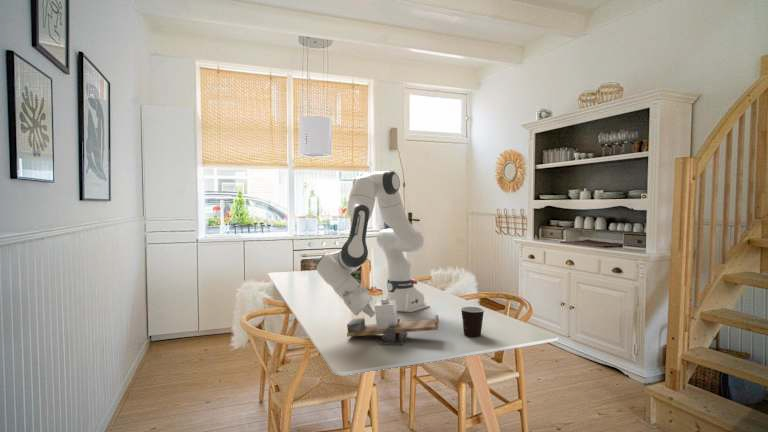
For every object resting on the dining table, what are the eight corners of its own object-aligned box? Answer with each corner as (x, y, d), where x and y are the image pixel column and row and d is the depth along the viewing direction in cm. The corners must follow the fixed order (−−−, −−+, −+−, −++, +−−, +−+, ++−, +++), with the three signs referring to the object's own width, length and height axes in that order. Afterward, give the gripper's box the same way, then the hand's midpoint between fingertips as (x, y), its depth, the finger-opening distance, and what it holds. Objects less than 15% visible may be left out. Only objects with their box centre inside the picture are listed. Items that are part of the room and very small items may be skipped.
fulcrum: (379, 344, 152) (379, 329, 151) (386, 331, 167) (386, 317, 167) (401, 345, 150) (401, 330, 150) (406, 332, 166) (406, 318, 166)
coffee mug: (479, 339, 157) (479, 313, 157) (457, 335, 162) (457, 310, 161) (489, 331, 167) (489, 307, 167) (468, 328, 171) (468, 304, 171)
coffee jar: (343, 295, 233) (343, 262, 232) (356, 294, 236) (356, 261, 236) (350, 299, 224) (350, 264, 224) (363, 297, 228) (363, 263, 227)
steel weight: (377, 329, 156) (373, 302, 156) (380, 324, 163) (377, 298, 163) (395, 328, 155) (392, 300, 155) (398, 323, 162) (394, 296, 162)
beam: (347, 336, 157) (345, 325, 157) (353, 328, 166) (352, 318, 166) (437, 329, 151) (436, 318, 151) (438, 322, 161) (437, 311, 161)
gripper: (347, 289, 151) (374, 317, 149) (359, 279, 171) (383, 303, 169) (335, 300, 151) (361, 328, 150) (349, 289, 172) (372, 314, 170)
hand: (373, 315), depth 160 cm, fingers closed
